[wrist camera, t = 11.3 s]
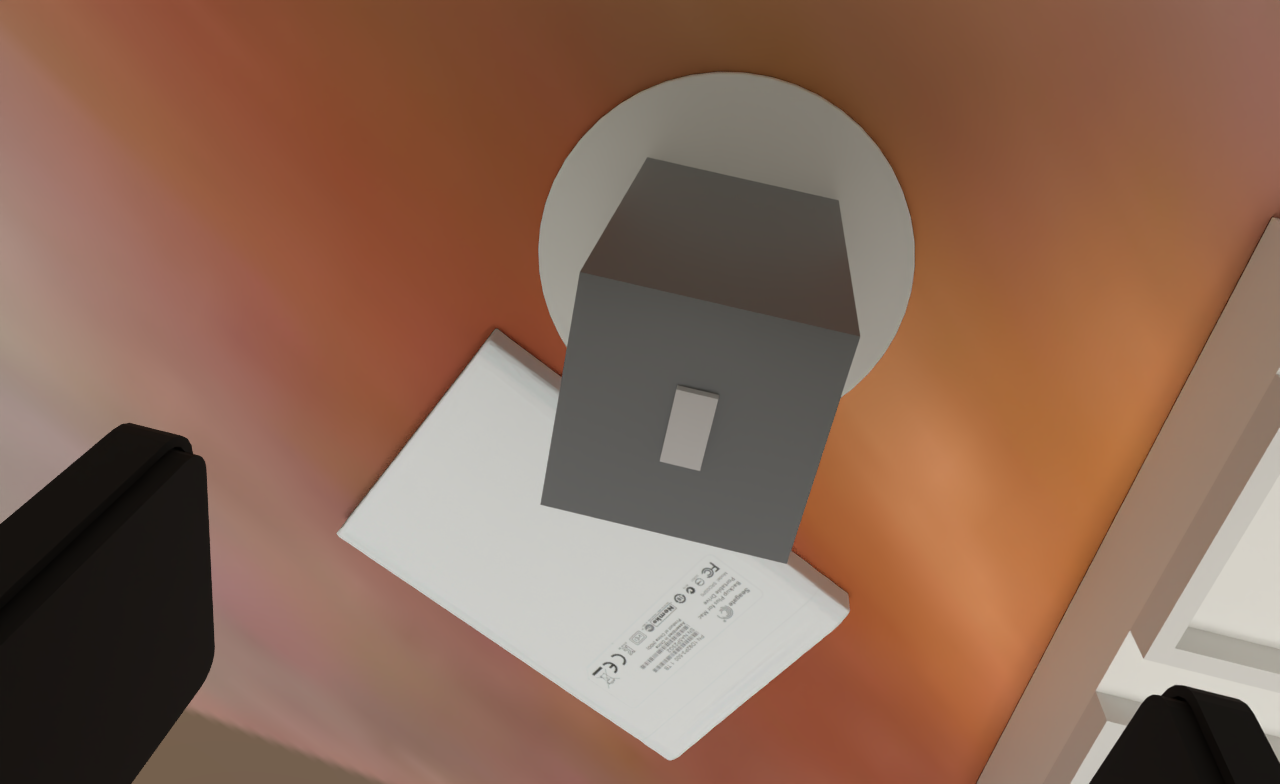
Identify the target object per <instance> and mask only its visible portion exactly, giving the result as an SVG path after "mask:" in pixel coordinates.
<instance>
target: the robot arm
mask: <svg viewBox="0 0 1280 784" xmlns="http://www.w3.org/2000/svg"><path fill="white" fill-rule="evenodd" d="M214 649H215V644H214V623H213V601H212V580H211V559H210V537H209V516H208V494H207V473H206V464H205V461H204V459H203V458H202V457H201V456H198V455H195V454H193V451H192V446H191V444H190V442H189V440H188V439H187V438H185V437H183V436H180V435H176V434H172V433H168V432H164V431H160V430H156V429H152V428H148V427H144V426H140V425H136V424H132V423H126V424H121V425H120V426H118V427H116V428H115V429H113V430H112V431H111V432H110V433H108V434H107V435H106V436H105V437H104V438H102V439H101V440H100V441H99V442H98V443H97V444H95V445H94V446H93V447H92V448H91V449H89V450H88V451H87V452H86V453H85V454H83V455H82V456H81V457H80V458H79V459H77V460H76V461H75V462H74V463H73V464H71V465H70V466H69V467H68V468H67V469H66V470H64V471H63V472H62V473H61V474H60V475H58V476H57V477H56V478H55V479H54V480H52V481H51V482H50V483H49V484H48V485H46V486H45V487H44V488H43V489H42V490H40V491H39V492H38V493H37V494H36V495H34V496H33V497H32V498H31V499H30V500H29V501H27V502H26V503H25V504H24V505H23V506H21V507H20V508H19V509H18V510H17V511H15V512H14V513H13V514H12V515H11V516H9V517H8V518H7V519H6V520H5V521H3V522H2V523H1V524H0V784H131V783H132V782H133V781H134V779H135V778H136V776H137V775H138V774H139V772H140V771H141V769H142V768H143V767H144V765H145V764H146V762H147V761H148V760H149V758H150V757H151V756H152V754H153V753H154V751H155V750H156V749H157V747H158V746H159V744H160V743H161V741H162V740H163V739H164V738H165V736H166V735H167V733H168V732H169V731H170V729H171V728H172V726H173V725H174V724H175V722H176V721H177V719H178V718H179V717H180V715H181V714H182V713H183V711H184V710H185V708H186V707H187V706H188V704H189V703H190V701H191V700H192V699H193V697H194V696H195V695H196V693H197V692H198V690H199V689H200V688H201V686H202V684H203V683H204V681H205V679H206V677H207V675H208V673H209V671H210V668H211V665H212V662H213V657H214ZM1089 784H1280V763H1279V761H1278V759H1277V757H1276V755H1275V753H1274V751H1273V749H1272V747H1271V745H1270V743H1269V741H1268V739H1267V737H1266V736H1265V734H1264V732H1263V730H1262V728H1261V726H1260V724H1259V722H1258V720H1257V718H1256V716H1255V714H1254V713H1253V711H1252V710H1251V709H1250V707H1249V706H1248V705H1247V704H1246V703H1244V702H1243V701H1241V700H1240V699H1236V698H1232V697H1228V696H1224V695H1220V694H1216V693H1212V692H1208V691H1204V690H1200V689H1196V688H1192V687H1188V686H1184V685H1174V686H1172V687H1170V688H1168V689H1167V690H1166V691H1165V692H1164V693H1163V694H1162V695H1161V696H1160V695H1151V696H1149V697H1147V698H1146V699H1145V700H1144V701H1143V702H1142V704H1141V705H1140V707H1139V708H1138V710H1137V711H1136V713H1135V714H1134V716H1133V717H1132V719H1131V720H1130V722H1129V723H1128V725H1127V727H1126V728H1125V730H1124V731H1123V733H1122V734H1121V736H1120V737H1119V739H1118V740H1117V742H1116V743H1115V745H1114V746H1113V748H1112V749H1111V751H1110V752H1109V754H1108V755H1107V757H1106V758H1105V760H1104V761H1103V763H1102V764H1101V766H1100V768H1099V769H1098V771H1097V772H1096V774H1095V775H1094V777H1093V778H1092V780H1091V781H1090V783H1089Z"/></svg>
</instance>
